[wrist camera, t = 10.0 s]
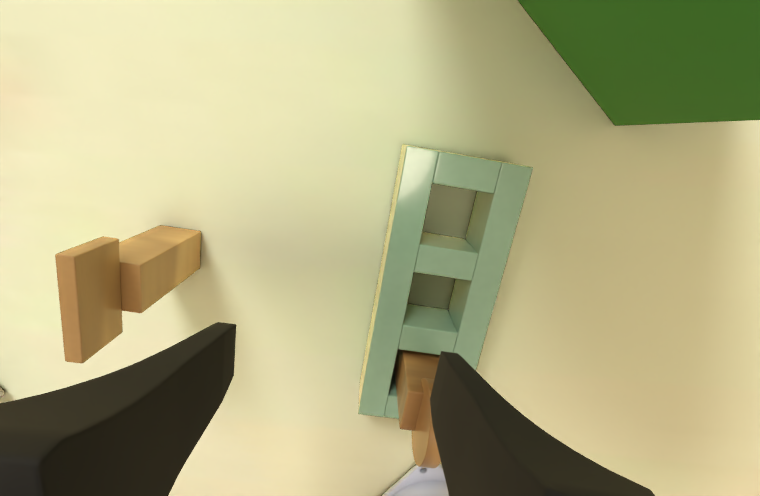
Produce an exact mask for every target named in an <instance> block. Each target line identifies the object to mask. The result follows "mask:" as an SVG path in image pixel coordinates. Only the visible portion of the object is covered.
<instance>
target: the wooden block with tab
mask: <svg viewBox="0 0 760 496" xmlns="http://www.w3.org/2000/svg"><path fill="white" fill-rule="evenodd" d="M439 358H440V355H436V354H429V353H422V352H414V351H407V350H400V349H398V351H397V355H396V360H395V365H394V370H395V381H396V392H397V403H398V414H399V425H400V429H405V430H412V448H413V455H414V459H415V462H416V464H417V466H419V467H426V468H437V467H438V466H439V464H440V462H441V460H440V455H439V451H438V447H437V443H436V439H435V434H434V430H433V425H432V416H431V406H430V396H431V392H432V388H433V383H434V379H435V375H436V371H437V366H438V362H439Z"/></svg>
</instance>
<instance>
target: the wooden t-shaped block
mask: <svg viewBox="0 0 760 496" xmlns="http://www.w3.org/2000/svg"><path fill="white" fill-rule="evenodd" d="M200 247H201V231H195V230H189V229H182V228H176V227H169V226H163V225H160V226H157V227H155V228H152V229H150V230H148V231H145V232H143V233H141V234H138V235H136V236H134V237H131V238H129V239H126V240H124V241H122V242H119V239H116V238H110V237H100V238H97V239H95V240H92V241H89V242H87V243H84V244H81V245H79V246H76V247H73V248H71V249H68V250H65V251H63V252H60V253H57V254H56V255H55V257H56V268H57V278H58V289H59V300H60V310H61V321H62V331H63V342H64V353H65V361H67V362H75V363H84V362H85V361H86V360H88V359H89V358H90V357H91V356H93V355H94V354H95V353H96V352H98V351H99V350H100V349H102V348H103V347H104V346H105V345H107V344H108V343H109V342H111V341H112V340H113V339H114V338H116V337H117V336H118V335H119V334H121V333H122V311H129V312H136V313H142V312H144V311H145V310H146V309H147V308H149V307H150V306H151V305H153V304H154V303H155V302H157V301H158V300H159V299H160V298H162V297H163V296H164V295H166V294H167V293H168V292H170V291H171V290H172V289H173V288H175V287H176V286H177V285H179V284H180V283H181V282H183V281H184V280H185V279H187V278H188V277H189V276H190V275H192V274H193V273H194V272H196V271H197V270H198V269H200Z"/></svg>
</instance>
